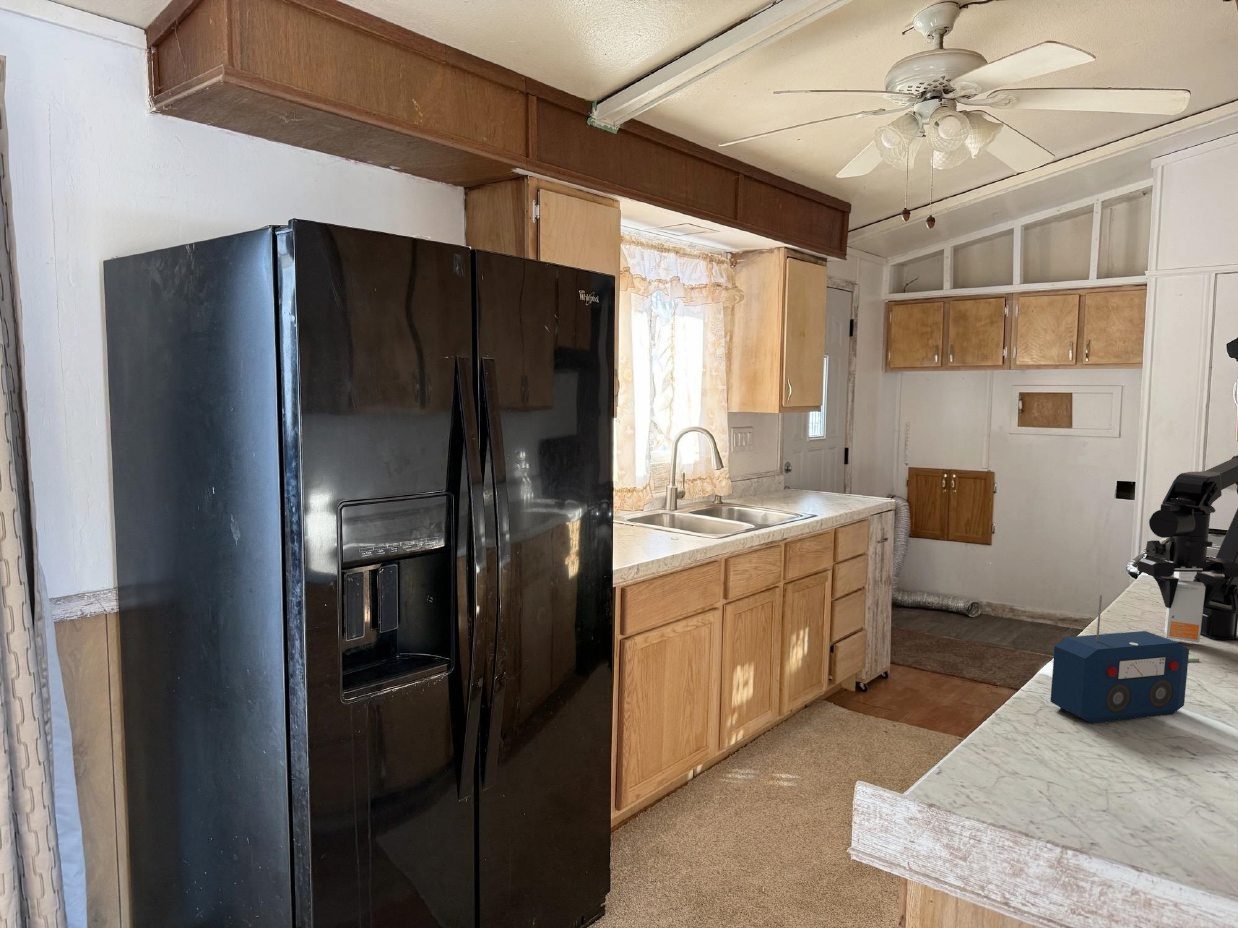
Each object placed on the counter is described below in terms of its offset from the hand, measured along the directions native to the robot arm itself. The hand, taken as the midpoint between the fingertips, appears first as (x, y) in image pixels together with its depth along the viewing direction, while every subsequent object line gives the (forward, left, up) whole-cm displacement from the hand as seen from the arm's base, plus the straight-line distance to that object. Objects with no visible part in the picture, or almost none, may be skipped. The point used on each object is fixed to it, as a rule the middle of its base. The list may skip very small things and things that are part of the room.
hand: (1184, 607), depth 178 cm
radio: (+38, +35, -8) cm, 53 cm away
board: (+9, +4, -8) cm, 13 cm away
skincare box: (0, 0, -7) cm, 7 cm away
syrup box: (-38, -48, -8) cm, 62 cm away
